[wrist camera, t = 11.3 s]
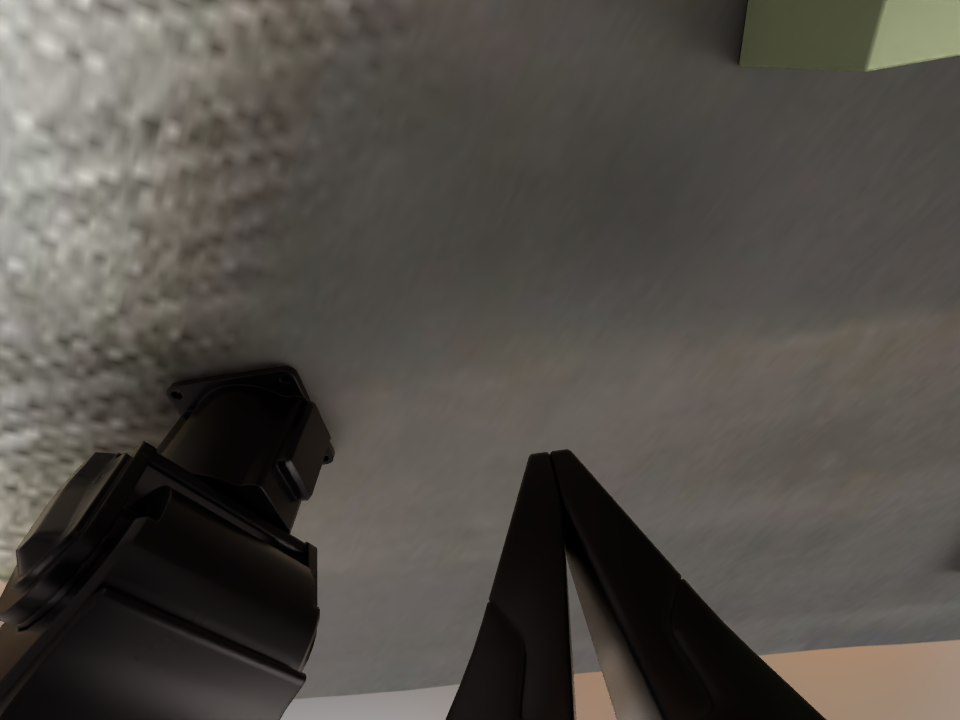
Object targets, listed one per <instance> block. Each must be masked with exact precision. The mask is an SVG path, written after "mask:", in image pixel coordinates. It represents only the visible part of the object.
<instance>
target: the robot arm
mask: <svg viewBox="0 0 960 720" xmlns="http://www.w3.org/2000/svg"><path fill="white" fill-rule="evenodd" d="M283 375H287V376H289V378H285V377H284V376H283ZM178 392H180V393H181V394H180V393H178ZM166 395H167V397H168V398H169V400H170V401H171V403H172V404H173V405H174V407H175V408H176V410H177V411H178V413H179V414H180V415H181V417H180V419H179V420H178V421H177V423H176V424H175V425H174V427H173V428H172V429H171V431H170V432H169V433H168V434H167V436H166V437H165V438H164V440H163V441H162V442H161V444H160V445H159V446H158V448H157V449H156V448H154V447H153V446H151V445H150V444H148V443H146V442H145V441H143V442H141V443H140V444H139V445H137V446H136V447H135V448H133V449H132V450H131V451H129V452H128V453H124V454H123V455H122V454H120V453H117V454H110V453H99V452H95V453H94V454H93V455H92V456H90V457H89V458H88V459H86V460H85V462H84V463H83V464H82V465H81V466H80V467H79V468H78V469H77V470H76V471H75V473H74V474H73V475H72V476H71V477H70V478H69V479H68V480H67V481H66V482H65V484H64V485H63V486H62V487H61V488H60V489H59V490H58V491H57V493H56V494H55V495H54V496H53V497H52V499H51V500H50V501H49V502H48V504H47V505H46V506H45V508H44V509H43V511H42V512H41V514H40V515H39V517H38V518H37V520H36V521H35V523H34V524H33V526H32V527H31V529H30V530H29V532H28V533H27V535H26V536H25V537H24V539H23V540H22V542H21V543H20V545H19V546H18V548H17V549H16V557H17V565H16V567H15V569H14V571H13V573H12V575H11V577H10V579H9V581H8V583H7V585H6V587H5V589H4V591H3V593H2V595H1V597H0V621H3V622H5V623H4V624H3V625H2V626H1V627H0V720H280V719H281V717H282V715H283V713H284V712H285V710H286V709H287V707H288V706H289V704H290V703H291V702H292V700H293V699H294V697H295V696H296V695H297V693H298V692H299V690H300V689H301V688H302V686H303V685H304V683H305V681H306V674H304V673H302V671H303V669H304V667H305V665H306V663H307V661H308V659H309V656H310V653H311V651H312V648H313V645H314V641H315V637H316V632H317V626H318V622H319V618H320V609H319V607H317V548H316V547H314V546H313V545H311V544H310V543H308V542H306V543H304V542H302V541H301V540H299V539H297V538H296V537H294V536H292V535H291V534H290V532H291V530H292V527H293V524H294V521H295V518H296V515H297V512H298V510H299V507H300V504H301V501H305V500H308V499H309V498H310V497H311V495H312V493H313V490H314V487H315V484H316V481H317V478H318V475H319V472H320V469H321V466H322V465H323V464H329V463H331V462H332V461H333V458H334V455H335V451H334V449H333V447H332V445H331V443H330V439H331V437H330V435H329V433H328V431H327V428H326V426H325V424H324V422H323V420H322V418H321V416H320V413H319V411H318V409H317V407H316V405H315V404H314V403H313V402H312V401H311V400H310V398H309V396H308V394H307V392H306V390H305V388H304V386H303V384H302V381H301V379H300V377H299V375H298V373H297V372H296V370H295V369H293V368H292V367H289V366H281V367H274V368H268V369H261V370H254V371H248V372H241V373H235V374H228V375H221V376H215V377H208V378H201V379H195V380H188V381H182V382H176V383H173V384H172V385H171V386H170V387H169V388H168V389H167V391H166ZM325 455H327V456H325ZM565 552H566V554H565ZM566 557H567V561H568V564H569V568H570V571H571V574H572V577H573V581H574V584H575V587H576V590H577V593H578V597H579V600H580V603H581V606H582V609H583V613H584V616H585V619H586V622H587V625H588V629H589V632H590V635H591V638H592V641H593V645H594V648H595V651H596V654H597V657H598V661H599V664H600V667H601V670H602V673H603V677H604V680H605V683H606V686H607V689H608V692H609V696H610V699H611V702H612V705H613V708H614V712H615V715H616V718H617V720H826V719H825V718H824V717H823V716H822V715H821V714H820V713H818V712H817V711H816V710H815V709H814V708H813V707H812V706H811V705H810V704H809V703H808V702H807V701H806V700H804V698H802V697H801V696H800V695H799V694H798V693H797V692H796V691H795V690H794V689H793V688H792V687H791V686H790V685H789V684H788V683H786V682H785V681H784V680H783V679H782V678H781V677H780V676H779V675H778V674H777V673H776V672H775V671H774V670H773V669H772V668H770V667H769V666H768V665H767V664H766V663H765V662H764V661H763V660H762V659H761V658H760V657H759V656H758V655H757V654H756V653H754V652H753V651H752V650H751V649H750V648H749V647H748V646H747V645H746V644H745V643H744V642H743V641H742V640H741V639H740V638H739V637H738V636H737V635H736V634H735V633H734V632H733V631H732V630H731V629H730V628H729V627H728V626H727V625H726V624H725V623H724V622H723V621H722V620H721V619H720V618H719V617H718V616H717V615H716V614H715V612H714V611H713V610H712V609H711V608H710V607H709V606H708V605H707V604H706V603H705V602H704V601H703V600H702V599H701V597H700V596H699V595H698V594H697V593H696V592H695V591H694V590H693V588H692V587H691V586H690V585H689V584H688V583H687V582H686V580H684V579H682V580H681V575H680V574H679V573H678V572H677V571H676V569H675V568H674V567H673V566H672V565H671V564H670V563H669V561H668V560H667V559H666V558H665V557H664V556H663V555H662V554H661V552H660V551H659V550H658V549H657V548H656V547H655V546H654V545H653V543H652V542H651V541H650V540H649V539H648V538H647V537H646V535H645V534H644V533H643V532H642V531H641V530H640V529H639V528H638V526H637V525H636V524H635V523H634V522H633V521H632V520H631V518H630V517H629V516H628V515H627V514H626V513H625V512H624V511H623V509H622V508H621V507H620V506H619V505H618V504H617V503H616V501H615V500H614V499H613V498H612V497H611V496H610V495H609V494H608V492H607V491H606V490H605V489H604V488H603V487H602V486H601V484H600V483H599V482H598V481H597V480H596V479H595V478H594V477H593V475H592V474H591V473H590V472H589V471H588V470H587V469H586V468H585V466H584V465H583V464H582V463H581V462H580V461H579V460H578V458H577V457H576V456H575V455H574V454H573V453H572V452H571V451H570V450H568V449H565V450H558V451H552V452H551V453H550V454H549V453H547V452H543V453H535V454H531V455H530V456H529V458H528V462H527V465H526V469H525V473H524V476H523V480H522V483H521V487H520V490H519V494H518V497H517V501H516V504H515V508H514V512H513V515H512V519H511V522H510V526H509V529H508V533H507V536H506V540H505V544H504V547H503V551H502V554H501V558H500V561H499V565H498V568H497V572H496V575H495V579H494V583H493V586H492V590H491V593H490V597H489V601H490V602H488V603H487V607H486V610H485V614H484V617H483V621H482V624H481V627H480V630H479V633H478V637H477V640H476V643H475V646H474V649H473V652H472V655H471V658H470V660H469V663H468V665H467V668H466V671H465V673H464V676H463V679H462V681H461V684H460V687H459V689H458V691H457V693H456V696H455V698H454V701H453V703H452V706H451V708H450V710H449V713H448V715H447V717H446V720H576V706H575V690H574V675H573V659H572V644H571V628H570V613H569V597H568V582H567V567H566Z"/></svg>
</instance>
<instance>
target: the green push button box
mask: <svg viewBox="0 0 960 720" xmlns="http://www.w3.org/2000/svg"><path fill="white" fill-rule="evenodd" d="M959 55H960V0H748V7H747V14H746V21H745V27H744V34H743V41H742V48H741V55H740V62H739V65H740V66H752V67H773V68H795V69H816V70H837V71H858V72H868V71H873V70H879V69H885V68H890V67H896V66H902V65H908V64H913V63H919V62H925V61H931V60H936V59H942V58H948V57H954V56H959Z"/></svg>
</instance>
